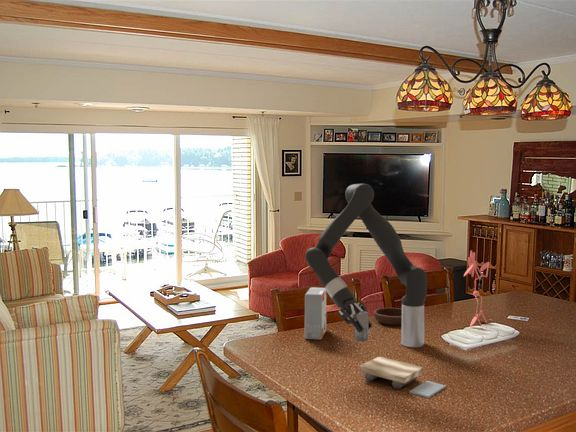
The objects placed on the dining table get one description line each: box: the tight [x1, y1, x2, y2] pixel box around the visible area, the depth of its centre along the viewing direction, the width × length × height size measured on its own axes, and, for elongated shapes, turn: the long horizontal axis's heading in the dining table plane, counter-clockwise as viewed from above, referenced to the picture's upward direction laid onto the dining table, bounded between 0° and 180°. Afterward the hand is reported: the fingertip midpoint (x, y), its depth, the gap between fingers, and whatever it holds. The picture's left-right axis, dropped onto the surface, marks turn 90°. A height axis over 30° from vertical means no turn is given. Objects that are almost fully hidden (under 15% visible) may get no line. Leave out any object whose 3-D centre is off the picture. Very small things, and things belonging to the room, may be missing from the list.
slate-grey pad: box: [409, 380, 447, 399], centre depth 197 cm, size 12×7×1 cm, turn 138°
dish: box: [373, 307, 402, 326], centre depth 280 cm, size 18×22×5 cm
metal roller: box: [354, 311, 370, 343], centre depth 214 cm, size 5×5×10 cm
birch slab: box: [358, 356, 424, 390], centre depth 205 cm, size 13×18×5 cm
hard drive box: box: [304, 286, 327, 341], centre depth 260 cm, size 16×8×20 cm, turn 168°
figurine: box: [455, 250, 492, 329], centre depth 274 cm, size 15×26×35 cm, turn 148°
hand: (365, 329), depth 213 cm, fingers closed on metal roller, 5 cm apart
